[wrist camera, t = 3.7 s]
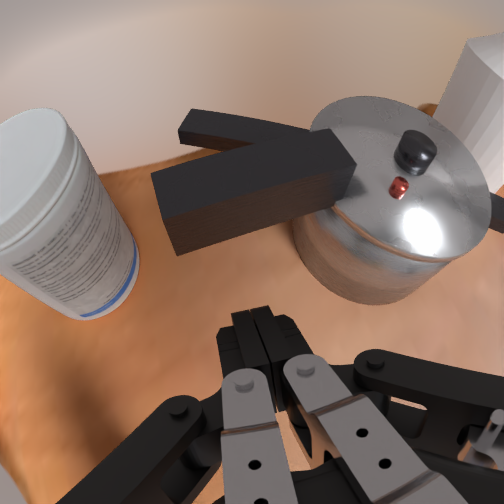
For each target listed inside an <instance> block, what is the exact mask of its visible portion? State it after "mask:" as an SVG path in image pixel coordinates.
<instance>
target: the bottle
mask: <svg viewBox="0 0 504 504" xmlns="http://www.w3.org/2000/svg"><path fill="white" fill-rule="evenodd" d="M432 118H434V119H435V120H437V121H438V122H439V123H441V124H442V125H444V126H445V127H446V128H447V129H448V130H450V131H451V132H452V133H453V134H454V135H455V136H456V137H457V138H458V139H459V140H460V141H461V142H462V143H463V144H464V145H465V147H466V148H467V149H468V150H469V152H470V153H471V154H472V156H473V157H474V159H475V160H476V162H477V163H478V165H479V167H480V169H481V171H482V173H483V175H484V177H485V180H486V182H487V185H488V189H489V192H491V193H494V194H495V193H496V192H497V191H498V190H499V188H500V187H501V186H502V185H503V184H504V32H503V33H499V34H494V35H490V36H483V37H477V38H470V39H468V40H467V42H466V44H465V46H464V49H463V51H462V54H461V56H460V58H459V61H458V63H457V65H456V68H455V70H454V72H453V74H452V77H451V79H450V81H449V83H448V86H447V88H446V90H445V92H444V94H443V96H442V98H441V100H440V102H439V104H438V107H437V109H436V111H435V113H434V115H433V117H432Z"/></svg>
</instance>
